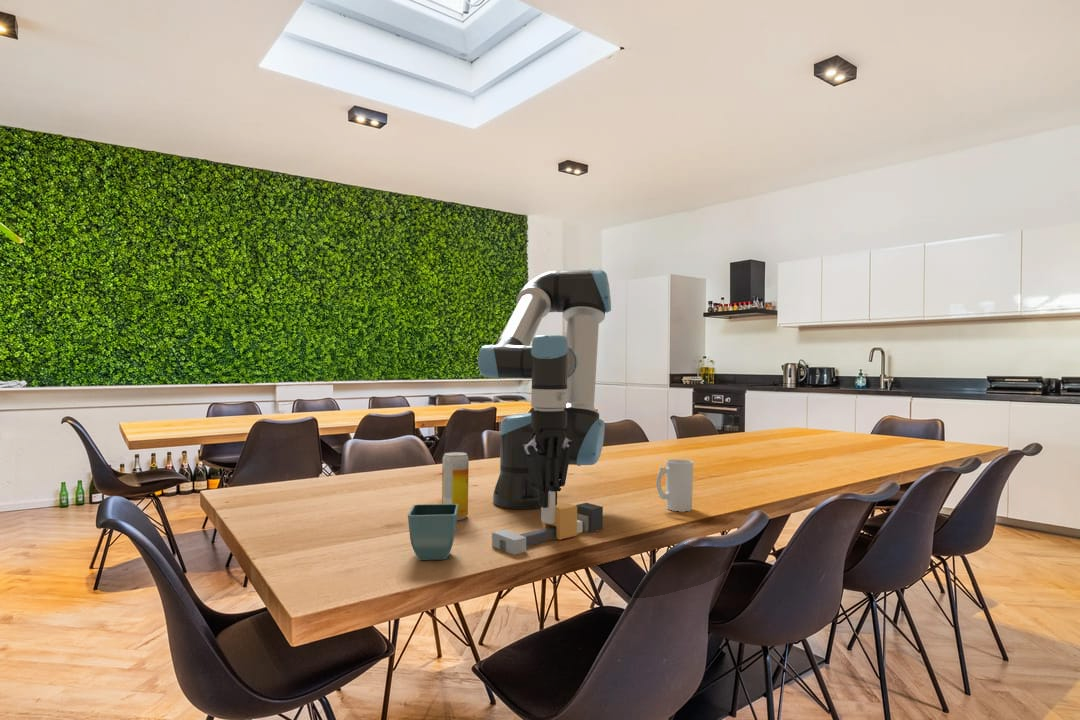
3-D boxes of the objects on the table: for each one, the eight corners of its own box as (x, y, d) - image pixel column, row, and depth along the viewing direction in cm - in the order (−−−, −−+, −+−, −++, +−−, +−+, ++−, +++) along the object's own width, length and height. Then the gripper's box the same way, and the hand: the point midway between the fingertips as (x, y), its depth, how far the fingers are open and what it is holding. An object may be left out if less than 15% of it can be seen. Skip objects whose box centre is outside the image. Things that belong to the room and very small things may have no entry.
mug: (682, 504, 159) (683, 458, 159) (698, 511, 152) (698, 462, 152) (649, 508, 155) (649, 460, 155) (663, 514, 149) (664, 465, 149)
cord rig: (514, 554, 117) (514, 528, 117) (491, 546, 122) (492, 521, 122) (605, 530, 134) (606, 507, 134) (583, 523, 140) (583, 501, 140)
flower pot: (412, 549, 120) (413, 503, 120) (458, 548, 121) (458, 503, 121) (406, 564, 111) (407, 515, 111) (455, 563, 112) (456, 514, 112)
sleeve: (559, 539, 126) (560, 509, 126) (542, 533, 130) (542, 504, 130) (576, 535, 129) (577, 505, 129) (559, 529, 134) (559, 501, 133)
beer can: (472, 516, 145) (473, 452, 145) (458, 522, 140) (459, 456, 140) (451, 513, 148) (451, 451, 148) (436, 518, 142) (437, 454, 142)
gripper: (537, 412, 120) (536, 531, 121) (584, 408, 129) (582, 520, 129) (513, 409, 126) (512, 523, 126) (559, 406, 135) (558, 513, 135)
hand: (548, 522), depth 128 cm, fingers closed
